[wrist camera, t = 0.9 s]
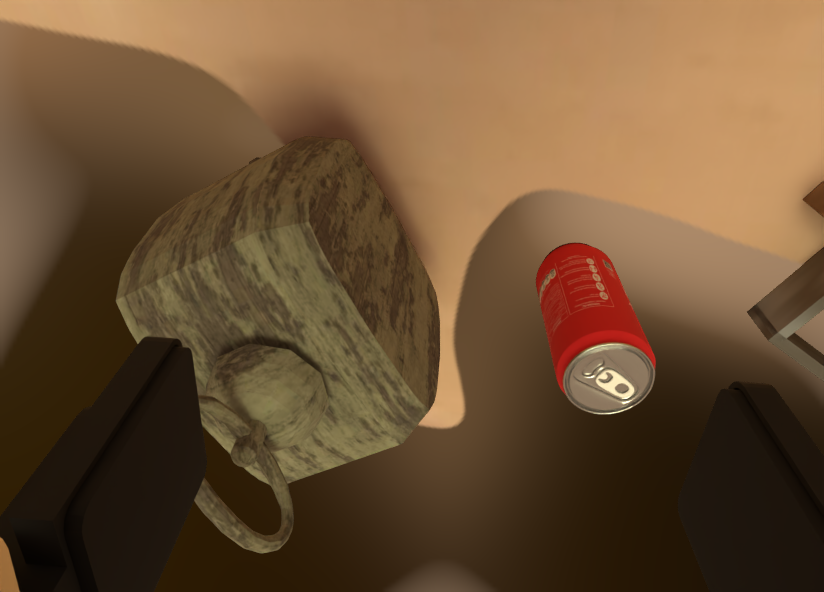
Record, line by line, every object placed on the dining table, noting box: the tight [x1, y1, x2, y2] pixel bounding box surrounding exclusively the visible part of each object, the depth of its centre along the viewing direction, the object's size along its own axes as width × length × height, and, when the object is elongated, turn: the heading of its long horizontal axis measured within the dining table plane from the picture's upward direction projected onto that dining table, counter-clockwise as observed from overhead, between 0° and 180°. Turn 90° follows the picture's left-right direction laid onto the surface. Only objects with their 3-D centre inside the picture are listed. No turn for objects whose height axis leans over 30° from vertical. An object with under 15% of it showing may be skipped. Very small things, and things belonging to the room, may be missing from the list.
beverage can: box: [536, 243, 655, 414], centre depth 38 cm, size 5×5×12 cm
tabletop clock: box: [116, 136, 440, 553], centre depth 32 cm, size 14×9×25 cm, turn 27°
